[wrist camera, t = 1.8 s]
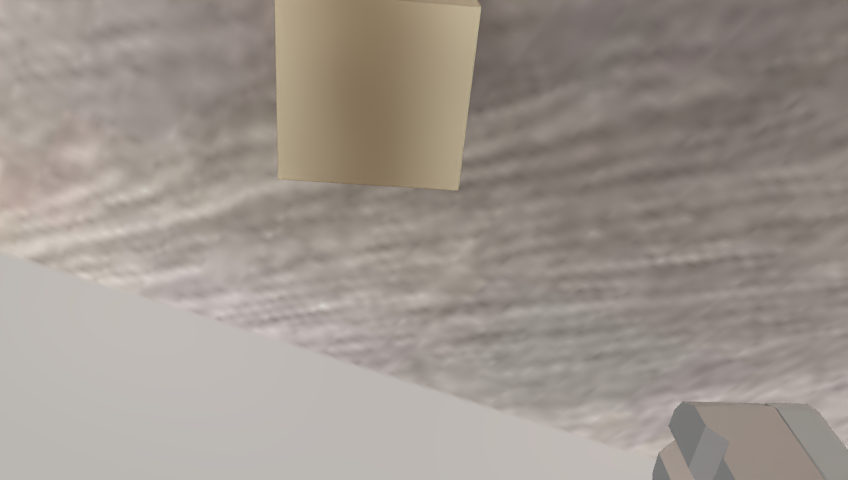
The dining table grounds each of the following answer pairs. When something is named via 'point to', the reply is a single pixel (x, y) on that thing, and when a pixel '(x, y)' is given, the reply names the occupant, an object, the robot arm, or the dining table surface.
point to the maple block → (374, 90)
